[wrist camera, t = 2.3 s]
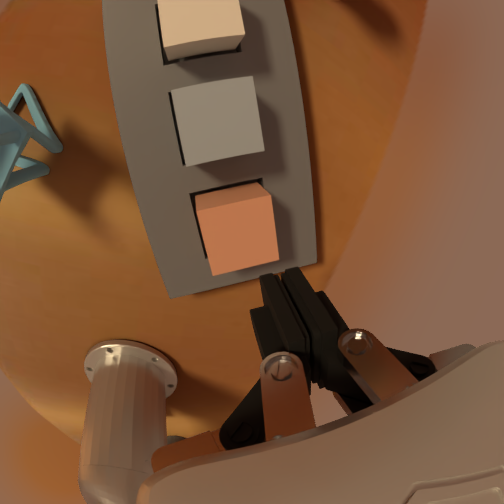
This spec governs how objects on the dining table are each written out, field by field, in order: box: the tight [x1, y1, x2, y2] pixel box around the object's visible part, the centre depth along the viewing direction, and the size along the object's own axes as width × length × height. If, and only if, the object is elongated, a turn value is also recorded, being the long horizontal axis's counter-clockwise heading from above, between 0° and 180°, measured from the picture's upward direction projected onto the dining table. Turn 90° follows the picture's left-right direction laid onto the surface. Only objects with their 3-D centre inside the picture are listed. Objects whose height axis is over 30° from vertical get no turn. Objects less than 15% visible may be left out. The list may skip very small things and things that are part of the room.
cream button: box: [157, 0, 245, 61], centre depth 13 cm, size 5×5×4 cm
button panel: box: [102, 0, 317, 299], centre depth 20 cm, size 28×14×3 cm, turn 9°
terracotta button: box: [195, 182, 279, 276], centre depth 21 cm, size 5×5×4 cm
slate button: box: [171, 76, 265, 167], centre depth 17 cm, size 5×5×4 cm
